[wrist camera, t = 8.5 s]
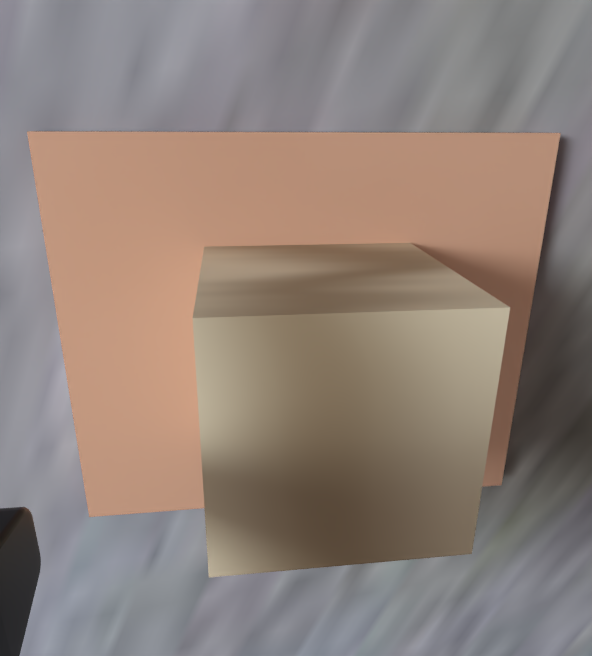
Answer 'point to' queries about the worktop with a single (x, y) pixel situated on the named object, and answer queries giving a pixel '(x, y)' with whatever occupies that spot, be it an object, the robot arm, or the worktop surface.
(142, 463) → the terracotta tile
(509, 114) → the worktop surface
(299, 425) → the beige cube
